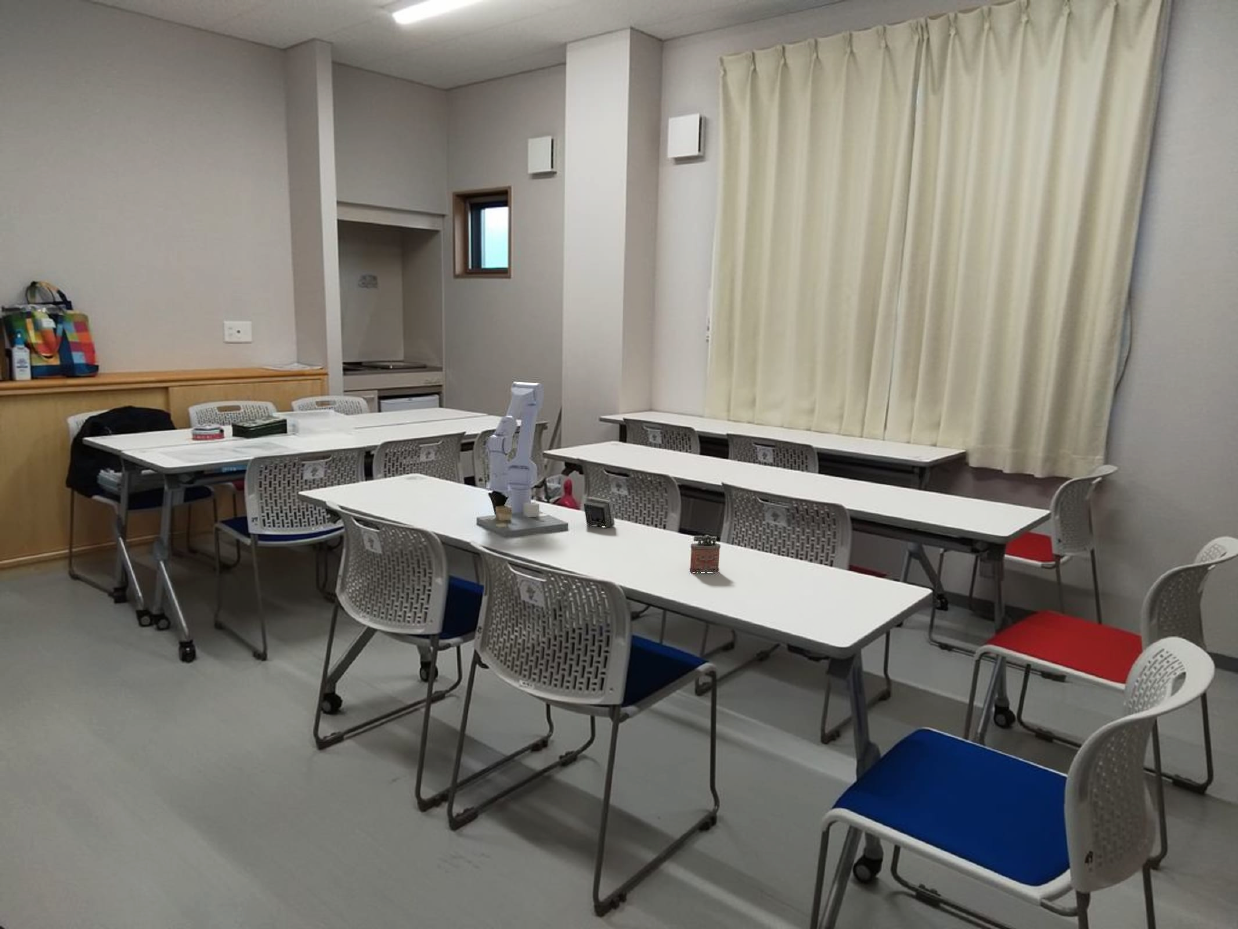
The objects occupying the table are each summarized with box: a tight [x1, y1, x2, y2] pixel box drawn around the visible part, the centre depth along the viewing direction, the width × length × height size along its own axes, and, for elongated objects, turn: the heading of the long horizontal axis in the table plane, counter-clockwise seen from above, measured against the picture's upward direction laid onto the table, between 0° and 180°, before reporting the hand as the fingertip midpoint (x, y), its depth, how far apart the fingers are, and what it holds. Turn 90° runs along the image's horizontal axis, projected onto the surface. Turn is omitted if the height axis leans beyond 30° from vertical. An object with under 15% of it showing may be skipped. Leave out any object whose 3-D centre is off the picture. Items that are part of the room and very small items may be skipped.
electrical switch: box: [583, 496, 615, 529], centre depth 265 cm, size 9×5×9 cm, turn 57°
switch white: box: [524, 501, 540, 517], centre depth 267 cm, size 3×4×4 cm
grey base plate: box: [476, 510, 569, 539], centre depth 262 cm, size 20×22×2 cm
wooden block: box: [496, 505, 512, 521], centre depth 261 cm, size 3×4×4 cm
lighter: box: [689, 534, 721, 574], centre depth 221 cm, size 8×3×10 cm, turn 100°
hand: (498, 514), depth 264 cm, fingers closed
